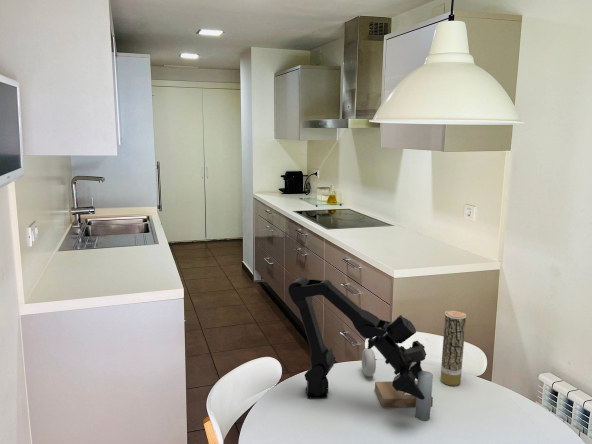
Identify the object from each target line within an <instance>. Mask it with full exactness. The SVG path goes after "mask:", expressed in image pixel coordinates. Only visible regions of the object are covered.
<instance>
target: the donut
mask: <svg viewBox="0 0 592 444" xmlns="http://www.w3.org/2000/svg"><path fill="white" fill-rule="evenodd" d="M375 354H376V353H375V352H374V350H373V349H372V348H371V349H368V347H366V348H364V349H363V351H362V355H361V368H362V372H363V374H364V375H365V376H366V377H373V376H374V375H375V373H376V368H377V367H376V366H377V362H376V360H377V359H376V355H375Z"/></svg>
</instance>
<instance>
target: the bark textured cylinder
mask: <svg viewBox="0 0 592 444" xmlns="http://www.w3.org/2000/svg"><path fill="white" fill-rule="evenodd" d="M466 320H467V313H464V312H463V311H459V310H446V311H445V312H444V326H443V339H442V353H441V355H442V356H441V364H440V365H441V366H440V381H441V382H442V383H444V384H445V385H447V386H450V387H451V386H458V385H460V384H461V383H462V381H461V379H462V372H463V371H462V369H463V357H464V346H465V332H466V322H467V321H466Z"/></svg>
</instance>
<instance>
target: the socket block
mask: <svg viewBox="0 0 592 444" xmlns="http://www.w3.org/2000/svg"><path fill="white" fill-rule="evenodd" d="M417 381H418V380H415V383H416V385H417ZM392 382H393V380H392V381H375V382H374V391H375V393H376V395H377V398H378V400H379V402H380V404H381V407H382V408H383V409H385V408H387V409H388V408H389V409H390V408H392V409H394V408H416V397H415V396H413V395H411V394H407V393H406V392H403V391H399V390H398V391H396V390H395V389H394V388H393V386H392ZM433 399H434V397H433V396H432V397H431V407H433V403H434V400H433Z"/></svg>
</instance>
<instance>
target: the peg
mask: <svg viewBox="0 0 592 444" xmlns="http://www.w3.org/2000/svg"><path fill="white" fill-rule="evenodd" d="M433 379H434V373H432V372H430V371H427V370H423V371H420V372H418V380H416V381H417V386H418V387H419V389H420V390H421V392H422V393H423V395H424V397H425V399H423V400H421V399H419V398H417V397H416V407H415V410H414V411H415V414H414V416H415V418H416V419H417V420H418V421H423V422H426V421H429V420H430V419H431V411H432V408H431V397H433V395H432V394H433V381H434V380H433Z"/></svg>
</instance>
